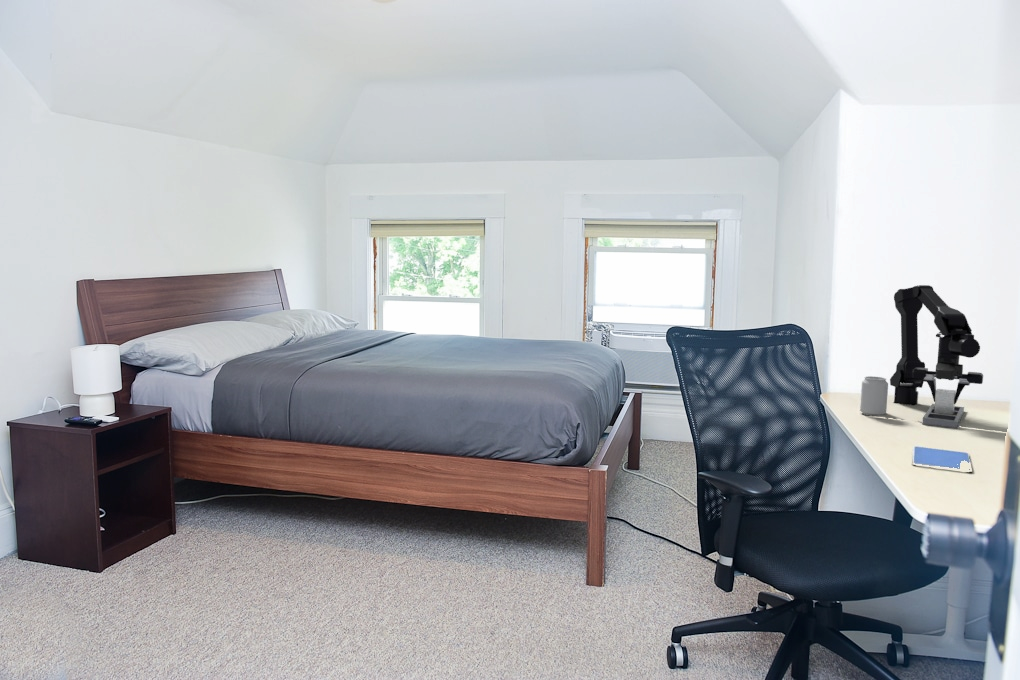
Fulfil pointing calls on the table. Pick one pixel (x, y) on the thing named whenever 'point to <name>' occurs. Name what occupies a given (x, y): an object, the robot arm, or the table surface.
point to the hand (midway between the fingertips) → (944, 402)
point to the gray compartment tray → (943, 418)
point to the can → (874, 396)
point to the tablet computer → (939, 457)
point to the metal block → (944, 401)
